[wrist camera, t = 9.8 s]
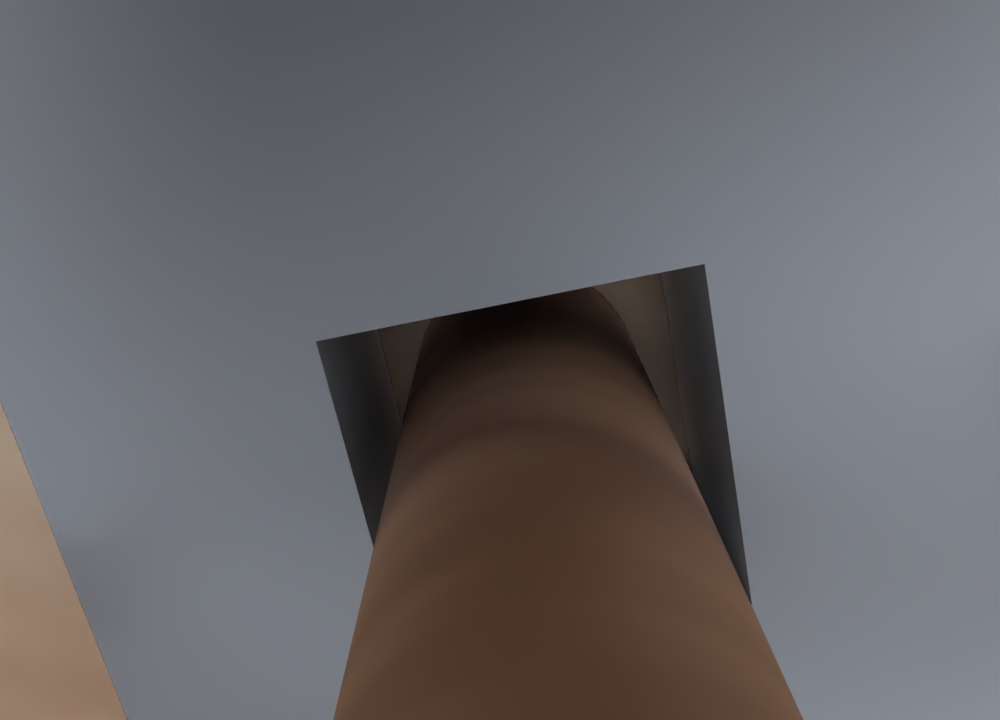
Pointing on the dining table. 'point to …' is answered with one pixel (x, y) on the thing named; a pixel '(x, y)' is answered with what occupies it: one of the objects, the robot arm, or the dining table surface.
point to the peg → (549, 541)
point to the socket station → (499, 280)
